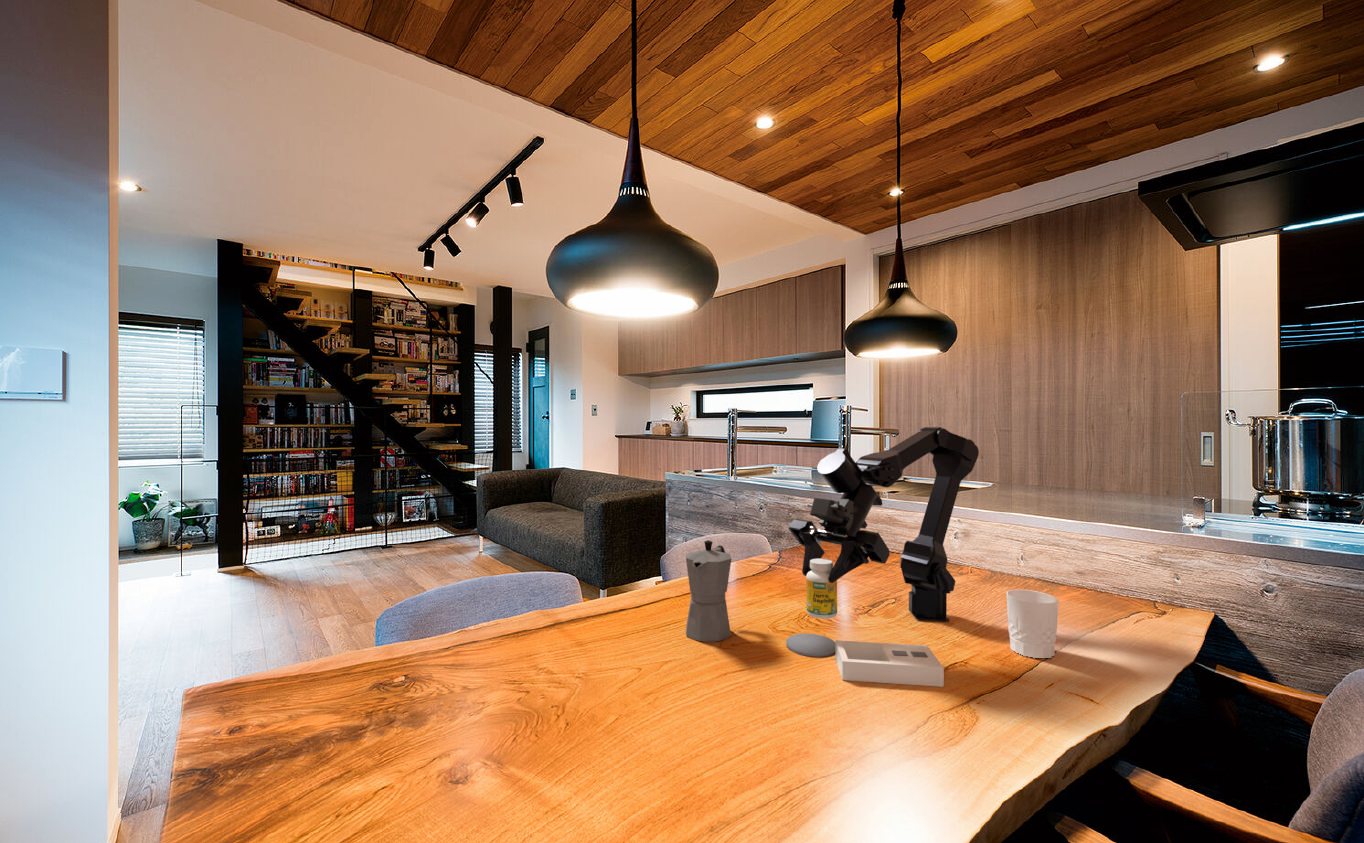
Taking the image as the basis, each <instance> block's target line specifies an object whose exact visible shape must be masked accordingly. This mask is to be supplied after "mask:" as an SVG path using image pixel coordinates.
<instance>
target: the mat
mask: <svg viewBox="0 0 1364 843" xmlns="http://www.w3.org/2000/svg"><path fill="white" fill-rule="evenodd" d="M785 645H786V647H787V649H789V650H790V651H791V652H793V653H795V654H797V655H801V656H805V657H811V658H812V657H815V658H821V657H828V656H832V655H834V654H835V641H834V640H833V639H831V638H829V637H827V636H824V635H822V634H818V633H817V634H816V633H796V634H792V635H790V636H789V637H787V638H786V639H785Z"/></svg>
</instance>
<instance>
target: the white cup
mask: <svg viewBox="0 0 1364 843" xmlns="http://www.w3.org/2000/svg"><path fill="white" fill-rule="evenodd" d="M1006 609H1007V610H1006V611H1007V612H1006V613H1007V626H1008V634H1009V646H1010V650H1011V651H1013V652H1014V651H1015V652H1016V653H1015V652H1014V653H1015V654H1017V653H1019V654H1018V655H1020V654H1021V655H1020V656H1022V655H1023V657H1026V656H1028V657H1027V658H1030V657H1033V658H1032V659H1035V658H1051V657H1052V656H1054V657H1055V652H1056V651H1055V650H1056V648H1055V647H1056V641H1057V631H1058V617H1059V598H1057V597H1056V596H1054V595H1051V594H1050V593H1049V594H1048V593H1045V592H1042V591H1037V590H1030V589H1010V590H1007V591H1006ZM1052 658H1053V657H1052ZM1052 658H1051V659H1052Z"/></svg>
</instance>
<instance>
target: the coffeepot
mask: <svg viewBox="0 0 1364 843" xmlns="http://www.w3.org/2000/svg"><path fill="white" fill-rule="evenodd" d="M712 546H713V540H704V548H705V549H701V550H696V551H693V552H688V553H685V562H686V570H687V576H688V577H687V578H688V585H689V592H690V600H689V605H688V606H689V607H688V612H687V618H686V619H687V620H686V625H685V636H686V637H688V638H690V639H691V640H694V641H696V640H698V641H697V642H701V641H703V643H715V642H716V641H717V642H721V640H722V641H725V640H727V639H728V638H730V637H731V636H732V635H731V634H732V633H731V627H730V620H729V613H728V608H727V607H728V606H727V600H726V593H727V592H728V584H729V580H730V579H729V577H730V570H731V564H732V556H731V553H729V552H726V551H725V548H724V546H723V545H717V546H716V547H713V548H712Z"/></svg>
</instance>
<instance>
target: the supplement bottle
mask: <svg viewBox="0 0 1364 843" xmlns="http://www.w3.org/2000/svg"><path fill="white" fill-rule="evenodd" d="M833 567H834V561H833V560H830V559H827V558H821V559H819V558H818V559H812V560H810V568H811V569H812V570H811V571H809V572H808V573H807V575H806V576H805V578H806V579H805V582H806V585H805V586H806V589H805V590H806V591H805V592H806V613H807V615H809V616H810V617H813V618H815V619H822V620H829V619H833V618H835V617H836V616H837V615H838V580H836V581H835V582H833V583H830V582H829V580H828V578H829V575H830V573H831V570H832V569H833Z"/></svg>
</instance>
